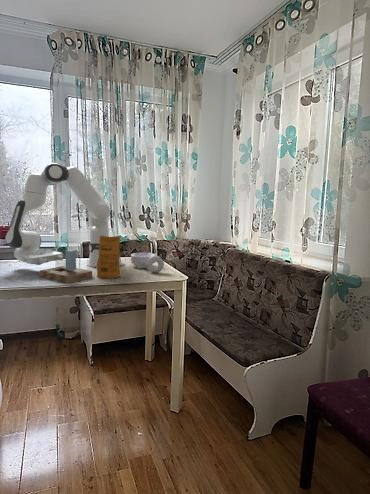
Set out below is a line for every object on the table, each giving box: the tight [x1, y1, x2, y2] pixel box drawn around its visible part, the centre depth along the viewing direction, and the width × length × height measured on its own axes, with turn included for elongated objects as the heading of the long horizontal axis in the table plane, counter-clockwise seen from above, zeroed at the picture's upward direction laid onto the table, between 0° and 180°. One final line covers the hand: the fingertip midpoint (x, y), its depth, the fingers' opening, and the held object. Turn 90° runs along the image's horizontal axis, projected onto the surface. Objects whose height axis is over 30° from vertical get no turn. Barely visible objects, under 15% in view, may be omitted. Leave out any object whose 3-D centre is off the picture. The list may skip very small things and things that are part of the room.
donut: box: [146, 255, 165, 274], centre depth 193 cm, size 10×4×10 cm, turn 96°
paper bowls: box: [130, 252, 157, 269], centre depth 208 cm, size 15×15×8 cm
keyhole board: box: [38, 265, 93, 284], centre depth 175 cm, size 21×16×4 cm
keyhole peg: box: [65, 249, 77, 272], centre depth 172 cm, size 5×5×14 cm
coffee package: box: [96, 235, 121, 279], centre depth 179 cm, size 10×12×22 cm
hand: (54, 259), depth 178 cm, fingers open, 8 cm apart
